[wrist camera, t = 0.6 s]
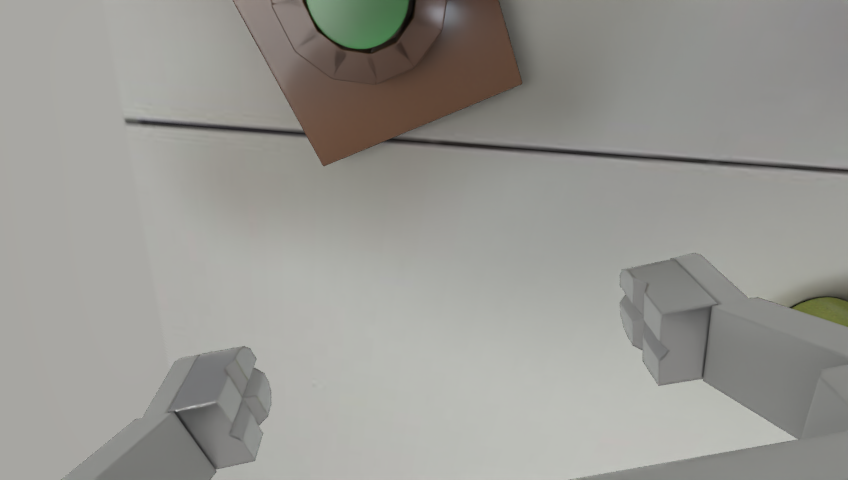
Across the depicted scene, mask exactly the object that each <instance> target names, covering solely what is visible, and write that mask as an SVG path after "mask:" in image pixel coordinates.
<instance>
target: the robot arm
mask: <svg viewBox="0 0 848 480" xmlns="http://www.w3.org/2000/svg"><path fill="white" fill-rule="evenodd" d="M620 287H621V288H622V290H623V291H624V292H625V294H626V295H625V296H624V298H623V299H622V300H621V302H620V315H621V319H622V323H623V327H624V330H625V332H626V334H627V337H628V338H629V340H630V342H631V343H632V345H633V346H635V347H637V348H639V349H641V350H643V362H644V364H645V365H646V367H647V369H648V370H649V372H650V373H651V375H652V376H653V378H654V379H655V381H656V383H657V384H658V386H660V385H666V384H672V383H679V382H685V381H691V380H698V379H703V381H704V382H706V383H708V384H709V385H711V386H713V387H714V388H716V389H717V390H719V391H721V392H722V393H724V394H725V395H727V396H729V397H730V398H732V399H734V400H735V401H737V402H738V403H740V404H742V405H743V406H745V407H747V408H748V409H750V410H751V411H753V412H755V413H756V414H758V415H760V416H761V417H763V418H764V419H766V420H768V421H769V422H771V423H773V424H774V425H776V426H777V427H779V428H781V429H782V430H784V431H786V432H787V433H789V434H790V435H792V436H794V437H795V438H797V439H798V440H792V441H787V442H781V443H775V444H769V445H764V446H758V447H752V448H747V449H741V450H735V451H729V452H724V453H718V454H712V455H707V456H701V457H695V458H690V459H684V460H678V461H672V462H667V463H661V464H655V465H650V466H644V467H638V468H633V469H627V470H621V471H616V472H610V473H604V474H598V475H593V476H587V477H581V478H576V479H570V480H848V327H846V326H843V325H840V324H837V323H834V322H831V321H828V320H825V319H822V318H819V317H816V316H813V315H810V314H806V313H803V312H800V311H797V310H794V309H791V308H788V307H785V306H782V305H779V304H776V303H773V302H770V301H767V300H764V299H761V298H758V297H756V298H750V299H749V298H748V297H747V296H746V295H745V294H743V293H742V292H741V291H740V290H739V289H738V288H737V287H736V286H735V285H734V284H733V283H731V282H730V281H729V280H728V279H727V278H726V277H725V276H724V275H723V274H722V273H720V272H719V271H718V270H717V269H716V268H715V267H714V266H713V265H712V264H711V263H710V262H708V261H707V260H706V259H705V258H704V257H703V256H702V255H700V254H697V253H692V254H688V255H684V256H679V257H675V258H671V259H670V260H665V261H660V262H655V263H651V264H646V265H641V266H636V267H631V268H627V269H622V270H621V274H620ZM255 362H256V357H255V355H254V354H253V352H252V350H251V349H250V348H248V347H245V346H242V347H237V348H231V349H225V350H220V351H214V352H209V353H203V354H201V355H194V356H189V357H183V358H180V359H179V360H177V361H175V362H174V364H173V366H172V367H171V369H170V371H169V373H168V374H167V376H166V378H165V379H164V381H163V383H162V385H161V386H160V388H159V390H158V391H157V393H156V395H155V397H154V398H153V400H152V402H151V403H150V405H149V407H148V409H147V410H146V412H145V414H144V416H143V417H142V418H139V419H135V420H134V421H132V422H131V423H130V424H129V425H127V426H126V427H125V428H124V429H123V430H121V431H120V432H119V433H118V434H116V435H115V436H114V437H113V438H112V439H110V440H109V441H108V442H107V443H105V444H104V445H103V446H102V447H101V448H99V449H98V450H97V451H96V452H95V453H93V454H92V455H91V456H90V457H88V458H87V459H86V460H85V461H83V462H82V463H81V464H80V465H79V466H77V467H76V468H75V469H74V470H72V471H71V472H70V473H69V474H68V475H66V476H65V477H64V478H63V479H61V480H210V479H211V478H212V477H213V475H214V474H215V473H216V469H220V468H225V467H230V466H234V465H239V464H243V463H248V462H253V461H255V459H256V456H257V452H258V449H259V446H260V442H261V439H262V436H263V432H262V430H261V429H260V427H259V425H260V424H261V423H262V422H263V421H264V420H265V419H266V418H267V417H268V415H269V411H270V408H271V388H270V385H269V381H268V379H267V377H266V375H265V373H263V372H261V371H260V370H258V369H256V368H254V365H255Z"/></svg>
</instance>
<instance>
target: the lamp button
mask: <svg viewBox="0 0 848 480" xmlns="http://www.w3.org/2000/svg"><path fill="white" fill-rule="evenodd" d="M306 2H307V5H308V9H309V11H310V14H311V16H312V18H313V20H314V21H315V23H316V24H317V26H318V27H319V28H320V30H321V31H322V32H323V33H324V34H325V35H326V36H328V37H329V38H330V39H331V40H333V41H334V42H336V43H338V44H340V45H342V46H345V47H348V48H353V49H368V48H373V47H376V46H379V45H381V44H383V43H384V42H386V41H387V40H389V39H390V38H391V37H392V36H393V35H394V34H395V33H396V32H397V31H398V29H399V28H400V26H401V25H402V23H403V21H404V19H405V16H406V13H407V10H408V5H409V0H306Z"/></svg>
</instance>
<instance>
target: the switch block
mask: <svg viewBox="0 0 848 480" xmlns="http://www.w3.org/2000/svg"><path fill="white" fill-rule="evenodd" d="M233 2H234V4H235V5H236V7H237V9H238V11H239V13H240V15H241V16H242V18H243V20H244V22H245V24H246V26H247V27H248V29H249V31H250V33H251V35H252V37H253V38H254V40H255V42H256V44H257V46H258V48H259V49H260V51H261V53H262V55H263V57H264V59H265V60H266V62H267V64H268V66H269V68H270V70H271V71H272V73H273V75H274V77H275V79H276V81H277V82H278V84H279V86H280V88H281V90H282V92H283V93H284V95H285V97H286V99H287V101H288V103H289V104H290V106H291V108H292V110H293V112H294V114H295V115H296V117H297V119H298V121H299V123H300V125H301V126H302V128H303V130H304V132H305V134H306V135H307V137H308V139H309V141H310V143H311V145H312V146H313V148H314V150H315V152H316V154H317V156H318V157H319V159H320V161H321V163H322V165H323V166H326V165H328V164H331V163H333V162H335V161H338V160H340V159H343V158H345V157H347V156H350V155H352V154H355V153H357V152H359V151H362V150H364V149H367V148H369V147H371V146H374V145H376V144H379V143H381V142H384V141H386V140H388V139H391V138H393V137H396V136H398V135H400V134H403V133H405V132H408V131H410V130H412V129H415V128H417V127H420V126H422V125H424V124H427V123H429V122H432V121H434V120H436V119H439V118H441V117H444V116H446V115H449V114H451V113H453V112H456V111H458V110H461V109H463V108H465V107H468V106H470V105H473V104H475V103H477V102H480V101H482V100H485V99H487V98H489V97H492V96H494V95H497V94H499V93H501V92H504V91H506V90H509V89H511V88H514V87H516V86H518V85H521V84H522V80H521V76H520V73H519V69H518V66H517V63H516V59H515V56H514V52H513V49H512V45H511V42H510V38H509V35H508V31H507V28H506V24H505V21H504V17H503V14H502V10H501V7H500V4H499V0H409V5H408V10H407V13H406V16H405V19H404V21H403V23H402V25H401V26H400V28H399V29H398V31H397V32H396V33H395V34H394V35H393V36H392V37H391V38H390V39H389V40H387V41H386V42H384V43H383V44H381V45H379V46H376V47H373V48H368V49H353V48H348V47H345V46H342V45H340V44H338V43H336V42H334V41H333V40H331V39H330V38H329V37H328V36H326V35H325V34H324V33H323V32H322V31H321V30H320V28H319V27H318V26H317V24H316V23H315V21H314V20H313V18H312V16H311V14H310V11H309V9H308V5H307V2H306V0H233Z"/></svg>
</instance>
